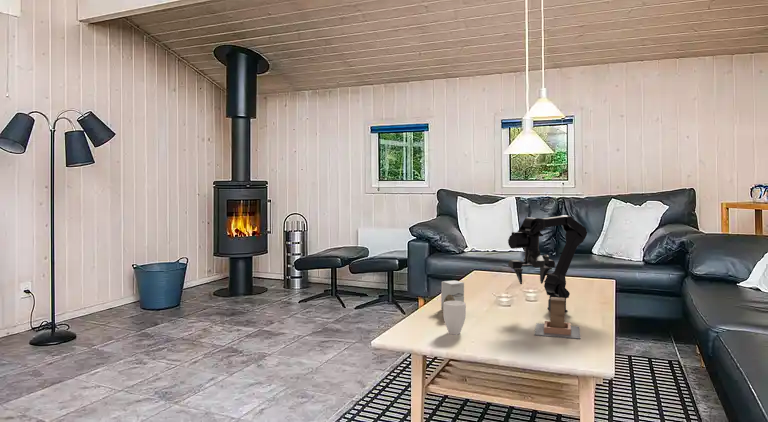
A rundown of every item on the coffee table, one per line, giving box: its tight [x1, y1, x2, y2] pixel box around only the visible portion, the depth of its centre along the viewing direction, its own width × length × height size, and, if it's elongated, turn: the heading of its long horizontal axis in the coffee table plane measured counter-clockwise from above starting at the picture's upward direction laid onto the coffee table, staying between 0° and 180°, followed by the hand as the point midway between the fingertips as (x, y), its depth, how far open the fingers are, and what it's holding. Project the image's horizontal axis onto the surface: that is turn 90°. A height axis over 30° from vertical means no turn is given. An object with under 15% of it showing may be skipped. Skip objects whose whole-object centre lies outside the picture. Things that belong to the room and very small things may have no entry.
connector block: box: [549, 297, 566, 328], centre depth 204 cm, size 5×5×12 cm
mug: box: [442, 301, 467, 335], centre depth 204 cm, size 12×8×11 cm
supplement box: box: [440, 279, 465, 310], centre depth 237 cm, size 7×7×13 cm
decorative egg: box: [441, 294, 455, 312], centre depth 223 cm, size 6×6×10 cm
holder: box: [533, 320, 581, 340], centre depth 204 cm, size 16×16×2 cm
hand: (531, 283), depth 229 cm, fingers open, 9 cm apart
